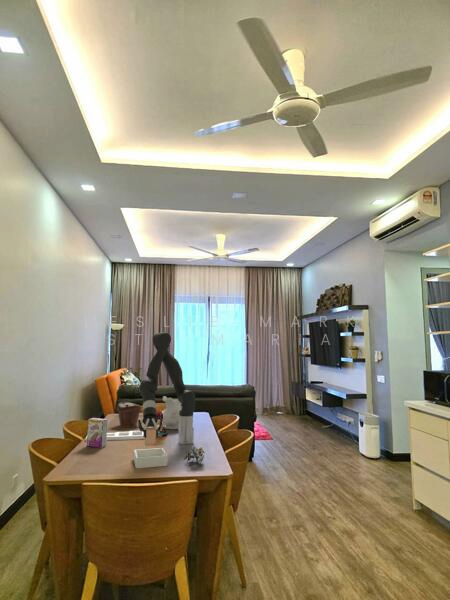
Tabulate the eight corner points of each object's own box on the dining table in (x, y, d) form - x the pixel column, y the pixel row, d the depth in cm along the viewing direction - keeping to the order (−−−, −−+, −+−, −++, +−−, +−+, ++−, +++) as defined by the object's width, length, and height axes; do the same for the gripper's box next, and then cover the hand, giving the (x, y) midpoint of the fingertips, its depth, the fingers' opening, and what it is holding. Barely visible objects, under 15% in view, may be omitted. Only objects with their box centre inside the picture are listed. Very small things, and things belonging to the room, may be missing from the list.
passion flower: (200, 475, 193) (203, 460, 187) (180, 471, 193) (182, 455, 187) (204, 457, 203) (207, 443, 197) (185, 453, 203) (187, 438, 197)
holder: (85, 441, 239) (85, 437, 239) (89, 435, 257) (90, 431, 257) (155, 439, 248) (155, 435, 248) (155, 433, 265) (155, 429, 265)
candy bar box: (86, 446, 226) (87, 419, 228) (91, 444, 230) (93, 417, 232) (101, 448, 222) (102, 420, 224) (106, 446, 227) (107, 419, 229)
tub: (154, 442, 200) (155, 427, 201) (155, 445, 196) (156, 429, 197) (144, 443, 199) (145, 428, 200) (145, 445, 194) (146, 430, 195)
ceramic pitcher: (175, 425, 297) (174, 393, 301) (193, 426, 286) (192, 393, 290) (155, 430, 279) (155, 396, 284) (174, 431, 268) (173, 396, 273)
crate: (162, 457, 206) (163, 447, 207) (167, 465, 191) (167, 455, 192) (133, 459, 201) (133, 449, 202) (135, 468, 186) (136, 458, 187)
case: (138, 428, 279) (139, 403, 281) (112, 427, 279) (113, 403, 282) (144, 423, 296) (145, 401, 299) (119, 423, 297) (120, 400, 299)
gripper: (137, 406, 205) (138, 433, 192) (163, 406, 209) (165, 432, 196) (136, 414, 209) (136, 441, 196) (161, 414, 213) (163, 440, 200)
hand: (151, 437), depth 196 cm, fingers closed on tub, 5 cm apart
